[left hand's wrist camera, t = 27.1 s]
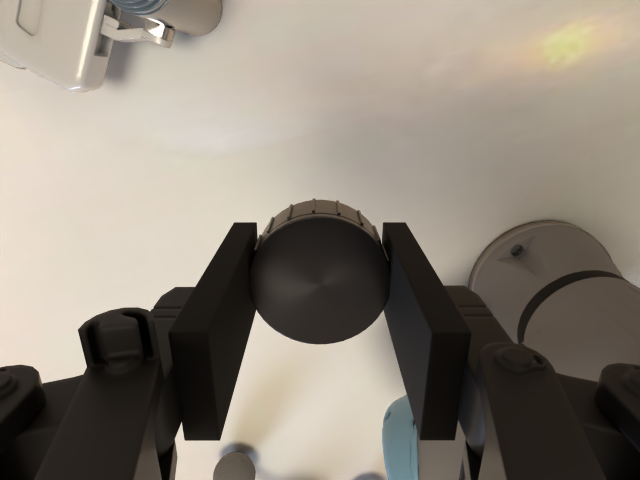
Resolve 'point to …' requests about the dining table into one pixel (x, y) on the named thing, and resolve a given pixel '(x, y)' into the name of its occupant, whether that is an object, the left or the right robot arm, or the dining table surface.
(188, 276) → the dining table surface
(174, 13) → the bottle
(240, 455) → the molecular model
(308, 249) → the cap
